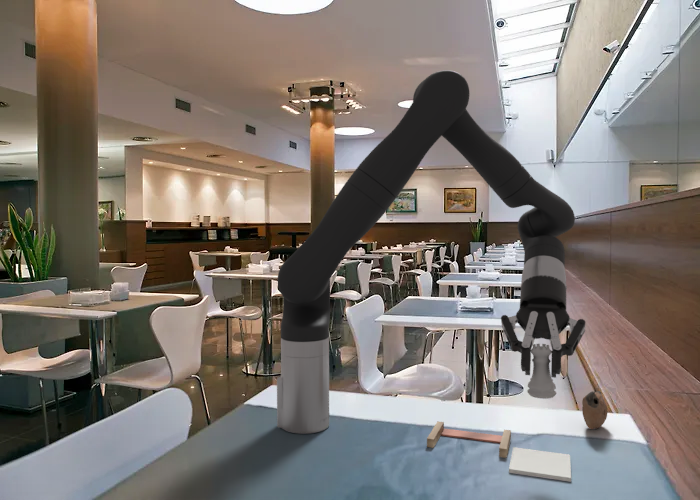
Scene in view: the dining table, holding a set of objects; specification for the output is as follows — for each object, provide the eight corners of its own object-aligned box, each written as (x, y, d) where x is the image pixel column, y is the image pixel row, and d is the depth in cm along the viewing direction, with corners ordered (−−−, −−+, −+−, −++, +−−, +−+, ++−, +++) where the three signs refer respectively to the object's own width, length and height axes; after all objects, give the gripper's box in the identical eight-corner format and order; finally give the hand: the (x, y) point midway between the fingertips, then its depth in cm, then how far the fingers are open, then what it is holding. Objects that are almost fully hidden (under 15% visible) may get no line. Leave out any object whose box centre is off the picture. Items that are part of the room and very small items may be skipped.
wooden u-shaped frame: (426, 446, 96) (426, 438, 95) (437, 429, 104) (437, 421, 104) (506, 458, 91) (506, 449, 91) (510, 438, 99) (511, 430, 99)
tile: (508, 472, 85) (508, 468, 85) (513, 450, 94) (513, 447, 94) (571, 481, 82) (571, 477, 82) (569, 458, 91) (569, 454, 91)
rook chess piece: (559, 399, 85) (558, 348, 85) (529, 399, 86) (528, 348, 85) (553, 390, 89) (552, 342, 89) (525, 390, 90) (524, 342, 90)
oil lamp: (601, 439, 99) (602, 395, 98) (577, 435, 101) (578, 392, 100) (608, 424, 106) (609, 383, 106) (586, 420, 108) (587, 380, 108)
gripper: (500, 272, 96) (492, 357, 85) (587, 275, 91) (591, 364, 80) (503, 299, 102) (495, 381, 91) (585, 302, 97) (588, 390, 86)
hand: (540, 373), depth 86 cm, fingers closed on rook chess piece, 3 cm apart
